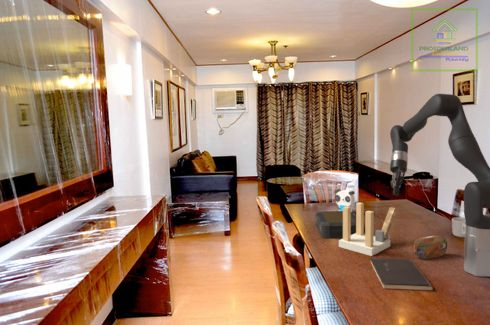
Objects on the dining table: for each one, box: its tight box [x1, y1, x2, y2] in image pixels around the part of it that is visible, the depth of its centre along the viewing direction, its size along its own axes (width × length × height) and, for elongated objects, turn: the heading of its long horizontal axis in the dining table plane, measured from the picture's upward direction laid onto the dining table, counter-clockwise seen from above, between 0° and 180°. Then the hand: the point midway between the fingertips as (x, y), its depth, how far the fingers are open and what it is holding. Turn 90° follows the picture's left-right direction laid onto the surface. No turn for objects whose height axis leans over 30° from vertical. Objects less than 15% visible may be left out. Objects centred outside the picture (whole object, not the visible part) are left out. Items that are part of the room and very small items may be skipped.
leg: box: [380, 206, 397, 240], centre depth 161 cm, size 2×2×15 cm
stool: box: [338, 201, 391, 257], centre depth 158 cm, size 16×18×18 cm
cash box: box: [314, 210, 356, 240], centre depth 182 cm, size 25×20×8 cm
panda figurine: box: [333, 188, 356, 216], centre depth 211 cm, size 12×11×15 cm
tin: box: [412, 235, 448, 260], centre depth 145 cm, size 15×3×8 cm, turn 105°
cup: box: [451, 216, 466, 238], centre depth 167 cm, size 11×8×8 cm
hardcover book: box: [369, 257, 434, 291], centre depth 129 cm, size 16×23×2 cm
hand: (396, 194), depth 165 cm, fingers closed
